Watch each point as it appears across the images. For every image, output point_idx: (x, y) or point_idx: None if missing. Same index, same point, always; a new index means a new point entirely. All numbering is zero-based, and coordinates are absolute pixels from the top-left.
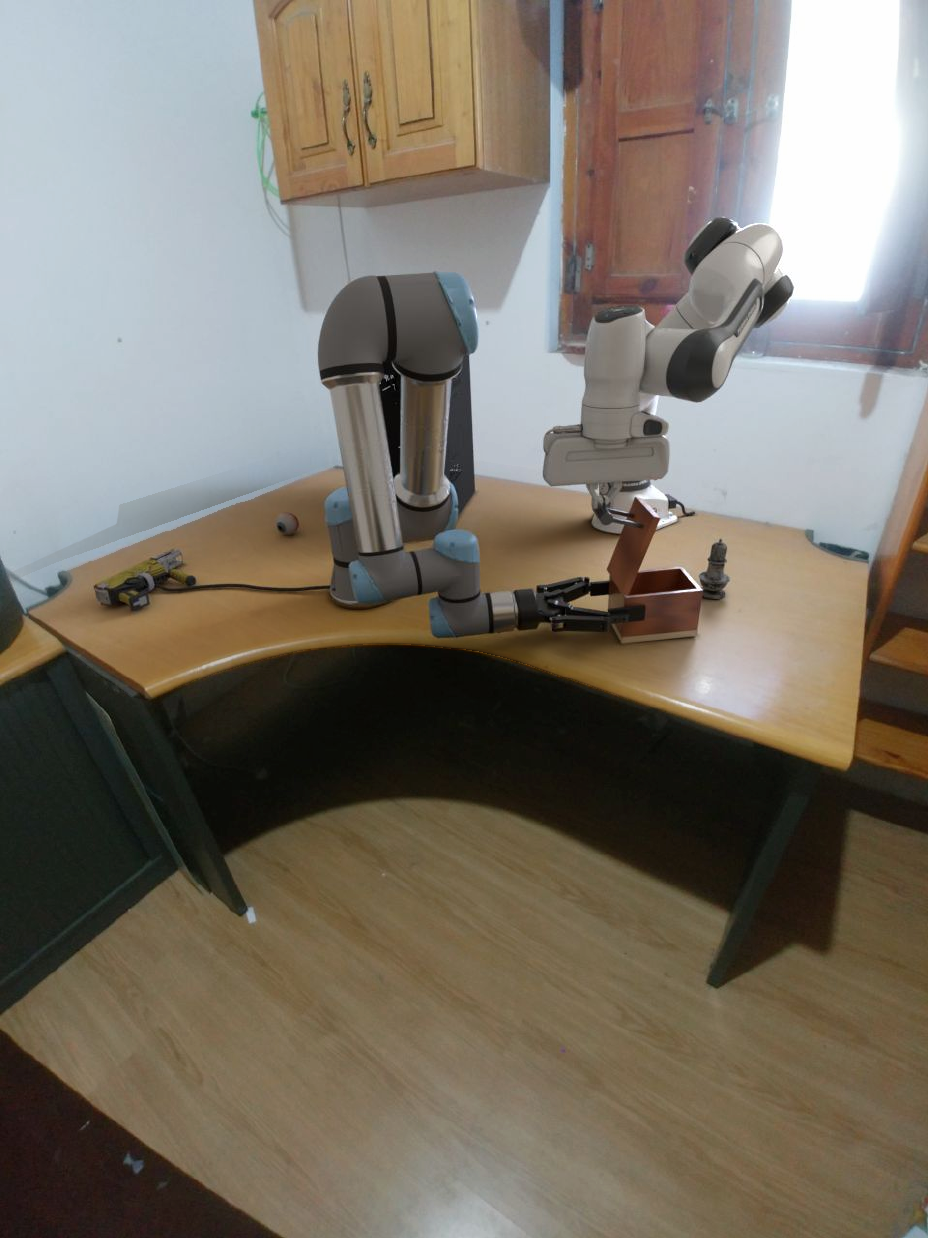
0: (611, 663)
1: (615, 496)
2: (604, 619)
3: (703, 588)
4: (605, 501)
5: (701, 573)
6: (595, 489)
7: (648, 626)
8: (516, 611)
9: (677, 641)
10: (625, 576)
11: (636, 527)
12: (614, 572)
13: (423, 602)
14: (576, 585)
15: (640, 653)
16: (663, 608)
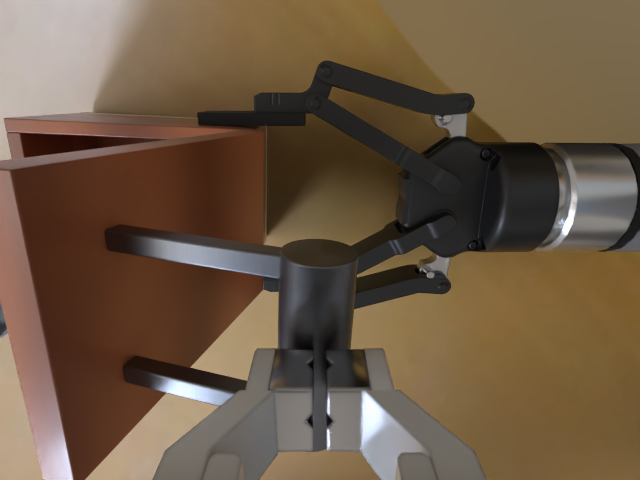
0: (315, 40)
1: (232, 396)
2: (333, 67)
3: None
4: (310, 374)
5: (3, 331)
6: (419, 451)
7: (197, 120)
8: (553, 160)
9: (138, 104)
10: (241, 158)
11: (149, 229)
12: (255, 239)
13: (624, 360)
14: None
15: (237, 69)
16: (146, 121)
